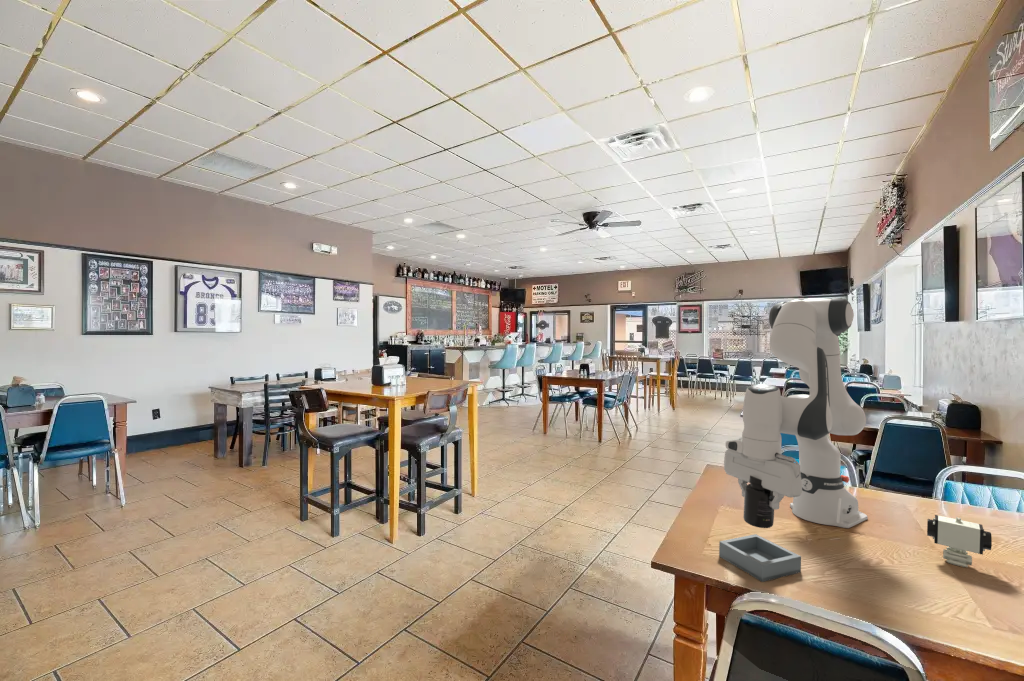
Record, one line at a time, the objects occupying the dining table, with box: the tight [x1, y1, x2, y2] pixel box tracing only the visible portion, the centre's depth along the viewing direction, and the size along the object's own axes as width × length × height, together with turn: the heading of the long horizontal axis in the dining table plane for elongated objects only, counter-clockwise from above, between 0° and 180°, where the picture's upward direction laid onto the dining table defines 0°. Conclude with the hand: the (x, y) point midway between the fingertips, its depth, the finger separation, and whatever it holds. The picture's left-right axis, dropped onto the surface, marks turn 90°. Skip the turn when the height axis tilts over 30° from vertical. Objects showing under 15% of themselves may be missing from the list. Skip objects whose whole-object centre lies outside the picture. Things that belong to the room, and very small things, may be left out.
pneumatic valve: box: [926, 514, 993, 568], centre depth 117 cm, size 6×12×12 cm, turn 47°
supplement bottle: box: [742, 476, 775, 529], centre depth 115 cm, size 7×7×12 cm
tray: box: [718, 533, 802, 583], centre depth 115 cm, size 13×13×4 cm
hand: (759, 502), depth 115 cm, fingers closed on supplement bottle, 7 cm apart
